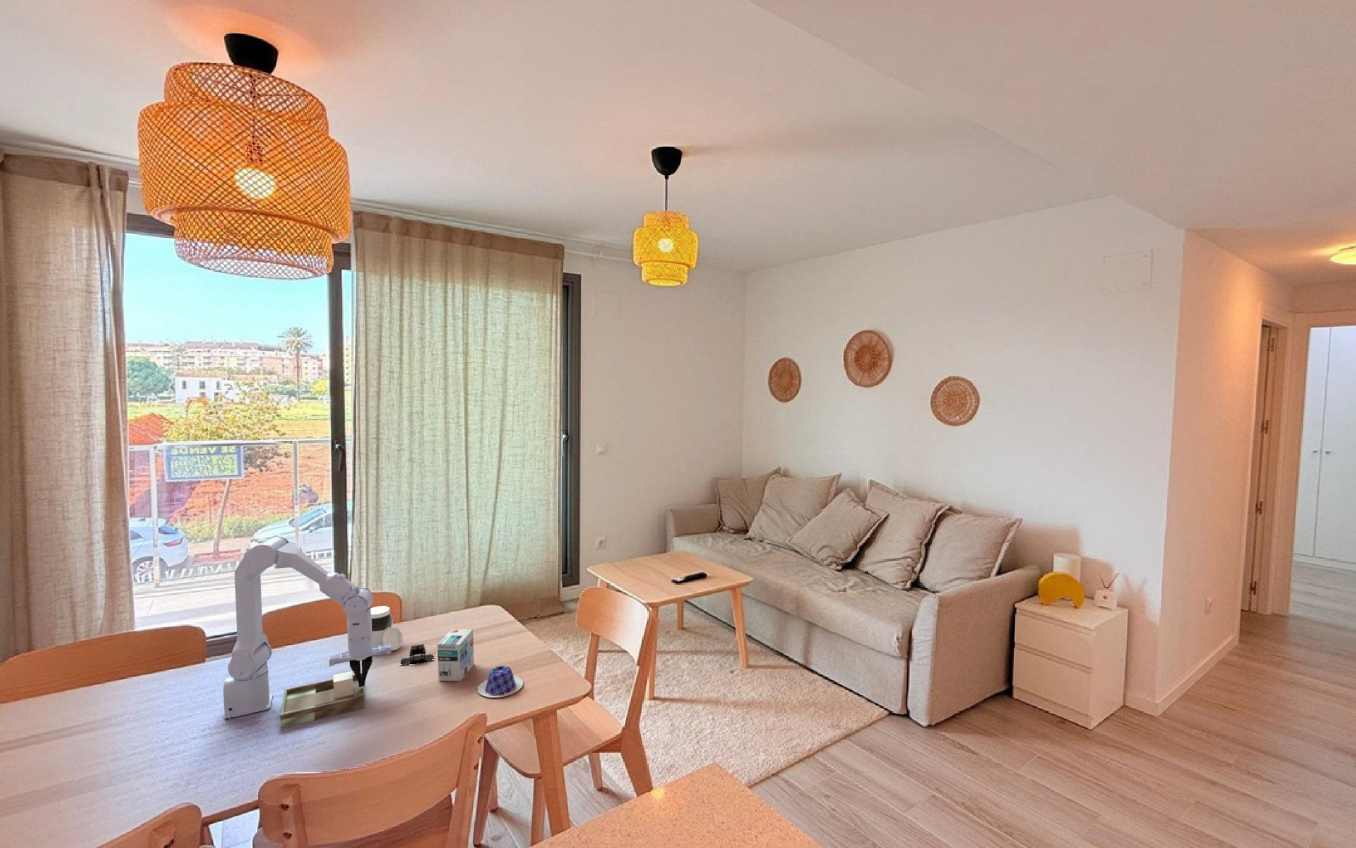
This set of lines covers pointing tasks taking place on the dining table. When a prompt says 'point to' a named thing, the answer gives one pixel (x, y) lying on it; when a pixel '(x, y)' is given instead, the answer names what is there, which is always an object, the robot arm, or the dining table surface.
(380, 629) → the spread jar
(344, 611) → the robot arm
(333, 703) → the brown shallow open box
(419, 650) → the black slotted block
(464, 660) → the light bulb box
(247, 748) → the dining table surface
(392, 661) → the dining table surface
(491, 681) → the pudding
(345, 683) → the cream block
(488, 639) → the dining table surface
